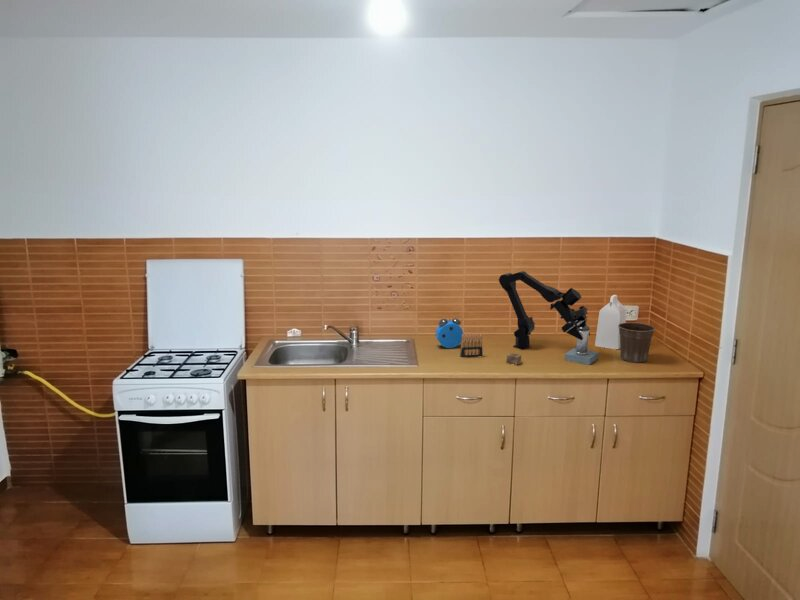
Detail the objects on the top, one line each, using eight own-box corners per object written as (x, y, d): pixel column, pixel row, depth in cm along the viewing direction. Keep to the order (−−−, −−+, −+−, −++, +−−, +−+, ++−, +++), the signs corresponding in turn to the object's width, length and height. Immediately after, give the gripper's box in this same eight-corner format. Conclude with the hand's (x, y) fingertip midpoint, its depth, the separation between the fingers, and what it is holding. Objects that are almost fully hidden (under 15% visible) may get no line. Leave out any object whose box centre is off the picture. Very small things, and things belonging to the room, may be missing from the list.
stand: (564, 359, 287) (565, 353, 287) (574, 353, 297) (574, 347, 296) (589, 364, 280) (589, 358, 279) (598, 358, 289) (598, 352, 289)
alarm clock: (460, 344, 311) (460, 316, 308) (463, 348, 305) (464, 319, 302) (435, 345, 309) (435, 317, 305) (438, 349, 303) (438, 320, 299)
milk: (602, 340, 319) (606, 292, 313) (624, 344, 312) (629, 295, 306) (594, 345, 309) (598, 296, 303) (617, 349, 303) (622, 299, 297)
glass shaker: (574, 354, 286) (576, 327, 283) (575, 350, 291) (577, 324, 288) (587, 355, 284) (589, 328, 281) (588, 352, 289) (590, 325, 286)
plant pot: (610, 353, 297) (613, 321, 293) (643, 353, 297) (646, 322, 293) (622, 364, 281) (625, 331, 277) (657, 364, 281) (660, 331, 277)
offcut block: (506, 363, 282) (506, 355, 281) (510, 360, 286) (511, 352, 285) (516, 365, 279) (516, 357, 278) (520, 362, 283) (521, 354, 282)
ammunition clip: (481, 355, 294) (482, 331, 291) (482, 356, 292) (483, 332, 289) (460, 356, 292) (460, 332, 289) (461, 357, 290) (461, 333, 288)
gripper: (569, 305, 277) (591, 332, 273) (584, 297, 292) (605, 323, 288) (552, 318, 284) (573, 345, 280) (567, 311, 298) (588, 336, 294)
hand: (586, 337), depth 285 cm, fingers open, 9 cm apart
